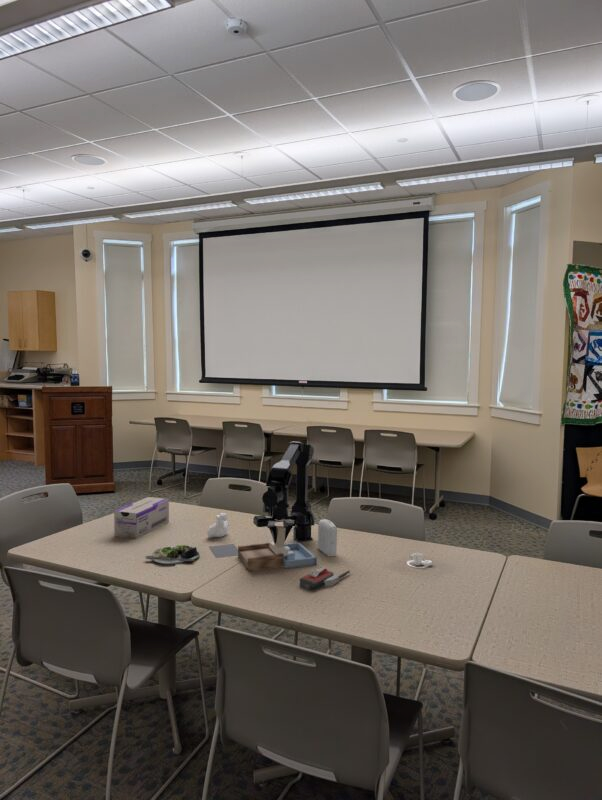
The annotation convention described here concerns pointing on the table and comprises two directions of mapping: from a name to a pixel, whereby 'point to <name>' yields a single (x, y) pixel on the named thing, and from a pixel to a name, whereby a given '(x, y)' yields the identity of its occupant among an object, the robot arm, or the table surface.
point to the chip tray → (299, 556)
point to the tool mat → (224, 550)
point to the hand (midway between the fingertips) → (279, 542)
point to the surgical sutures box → (141, 517)
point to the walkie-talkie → (320, 579)
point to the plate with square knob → (279, 542)
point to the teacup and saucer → (419, 561)
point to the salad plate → (175, 555)
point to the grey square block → (290, 556)
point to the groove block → (259, 557)
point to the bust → (218, 526)
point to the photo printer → (327, 537)
